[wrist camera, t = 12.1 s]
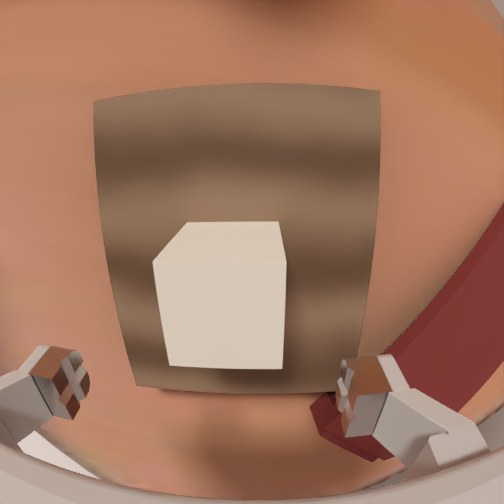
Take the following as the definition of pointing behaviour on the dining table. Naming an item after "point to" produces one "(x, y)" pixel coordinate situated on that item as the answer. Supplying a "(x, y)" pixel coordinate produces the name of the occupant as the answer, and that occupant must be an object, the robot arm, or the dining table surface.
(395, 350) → the carton
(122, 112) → the plinth
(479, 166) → the dining table surface
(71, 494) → the robot arm
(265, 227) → the cream block
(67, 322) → the dining table surface
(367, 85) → the dining table surface
